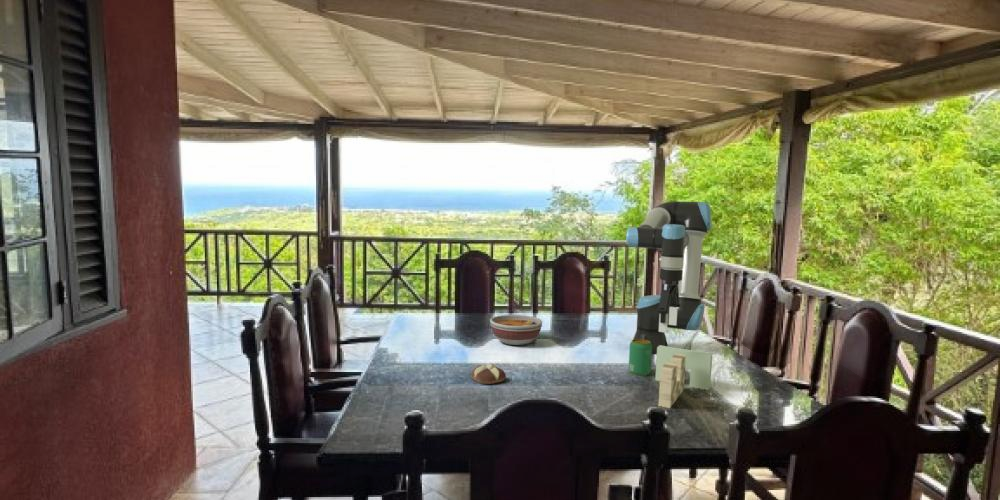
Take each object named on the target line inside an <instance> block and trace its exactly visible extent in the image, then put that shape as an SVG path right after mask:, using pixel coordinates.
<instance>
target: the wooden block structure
mask: <svg viewBox="0 0 1000 500" xmlns="http://www.w3.org/2000/svg"><path fill="white" fill-rule="evenodd" d="M685 363H686V355H681V354H674V355H673V356H672V357H671V358H670V363H666V364H665V365H664V366H663V367H662V368H661V371H660V381H659V387H658V388H659V390H658V407H661V406H662V407H663V408H667V409H671V407H672V406H673V405H674V403H675V402H676V401H677V399H678V398H679V397H680V395H681V394H682V393H683V392H684V390H685V376H686V369H685Z"/></svg>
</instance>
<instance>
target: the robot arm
mask: <svg viewBox="0 0 1000 500" xmlns="http://www.w3.org/2000/svg"><path fill="white" fill-rule="evenodd" d="M712 229H713V228H712V211H711V205H710V204H709V203H708V202H705V201H704V202H702V201H678V200H677V201H675V200H672V201H666V202H663V203H660V204H658V205H656V206H655V207H653V208H651V209H650V210H649V212H648V214H647V217H646V218H645V219H644V221H643V222H642V223H641V224H640V225H639V226H629V227H628V228H627V230H626V234H625V243H626V245H627V246H628V247H631V248H642V249H643V248H645V249H660V250H661V252H660V258H659V260H658V261H659V262H660V269H659V279H660V280H662V281H664V283H662V284H661V293H660V294H653V295H652V294H651V295H644V296H642V297H640V298H638V302H637V307H636V308H637V314H636V315H637V317H636V331H635V333H634V336H633V338H632V340H633V339H644V340H648V341H650V342H651V344H652V353H654V354H655V355H657V347H658V346H659V345H661V346H668V347H669V344H668V340H667V338H666V334H667V333H668V329H677V330H683V331H684V330H685V331H698V330H699V329H700V328H701V324H702V322H703V318H704V314H705V308H706V307H705V306H706V305H705V303H703V302H702V298H701V296H699V287H700V286H699V285H700V274H701V263H702V253H703V252H702V251H703V241H704V240H703V239H704V238H705V237H706V236H707V235H708V231H711V230H712Z"/></svg>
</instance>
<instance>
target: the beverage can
mask: <svg viewBox="0 0 1000 500" xmlns="http://www.w3.org/2000/svg"><path fill="white" fill-rule="evenodd" d="M628 355H629V356H628V371H629V373H630V374H631V375H634V376H637V377H638V376H639V377H647V375H648V376H649V375H650V374H651V370H652V359H653V358H652V355H653V354H652V344H651V342H650V341H648V340H644V339H633V338H632V340H631V342H630V343H629V353H628Z"/></svg>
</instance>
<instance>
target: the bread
mask: <svg viewBox="0 0 1000 500" xmlns="http://www.w3.org/2000/svg"><path fill="white" fill-rule="evenodd" d="M470 376H471V379H472V380H473V381H474V382H476V383H478V384H481V385H491V384H493V385H494V384H498V383H501V382H503V381H505V379H506V378H507V374H506V372H505V371H504V370H503V369H501V368H499V367H498V366H497V365H495V364H494V363H489V364H487V365H484V364H480V365H478V366H476V367H474V369H473V370H472V371H471V375H470Z"/></svg>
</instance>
